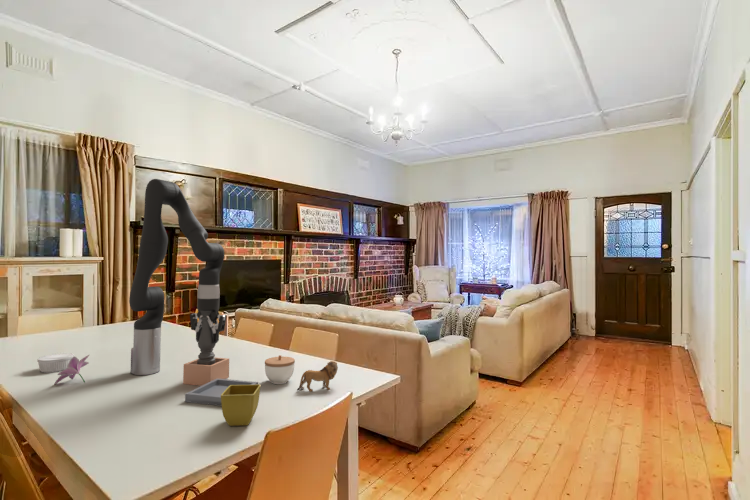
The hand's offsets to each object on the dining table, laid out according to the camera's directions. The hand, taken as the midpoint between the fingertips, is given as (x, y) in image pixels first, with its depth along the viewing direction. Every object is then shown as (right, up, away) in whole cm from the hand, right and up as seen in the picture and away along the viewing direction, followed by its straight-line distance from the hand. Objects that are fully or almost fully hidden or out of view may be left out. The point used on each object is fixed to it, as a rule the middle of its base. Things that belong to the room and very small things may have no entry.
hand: (207, 342), depth 141 cm
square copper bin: (0, -14, 0) cm, 14 cm away
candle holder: (0, -10, 0) cm, 10 cm away
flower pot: (+25, -14, -36) cm, 46 cm away
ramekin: (-65, -14, +11) cm, 67 cm away
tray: (+12, -14, -15) cm, 24 cm away
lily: (-46, -14, -4) cm, 48 cm away
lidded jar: (+27, -14, 0) cm, 30 cm away
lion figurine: (+42, -14, -8) cm, 45 cm away
